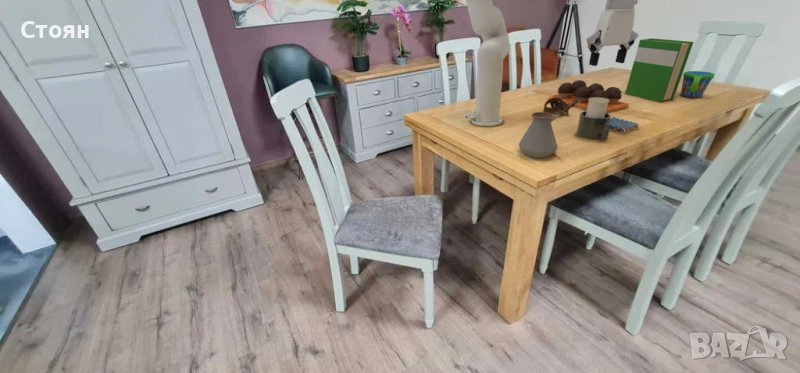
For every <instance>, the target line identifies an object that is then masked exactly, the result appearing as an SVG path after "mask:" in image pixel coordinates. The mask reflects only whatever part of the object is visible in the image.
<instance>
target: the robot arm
mask: <svg viewBox="0 0 800 373" xmlns="http://www.w3.org/2000/svg"><path fill="white" fill-rule="evenodd" d="M465 2H466V7H467V11H468V15H469V19H470V23H471V27H472V30H473V32H474V33H475V34H476V35H477V36H480V37H481V39H482V42H481V44H480V45H479V47H478V50H477V53H476V72H477V73H476V92H475V109H472V111H471V112H470V113H469V112H466V113H463V115H462V116H463V119H468V120H470V123H472V124H473V125H476V126H478V127H496V126H500V125H501V124H502V123H503V118H502V117H501V116H500V110H501V100H502V88H503V78H504V59H506V58H507V56H508V54H509V53H510V49H511V45H510V44H511V43H510V40H509V39H510V38H509V35H508V34H509V33H508V31H507V26H506V22H505V18H504V15H503V13H502V11H501V10H500V8H499V7H497V6H496V5H494V3H493V0H465ZM638 2H639V1H638V0H606V4H605V8H604V10H602V11H601V13H600V16H599V17H598V21H597V24H596V26H595V31H594V33H593V34H592V35H591V36H589V37H586V44H587V49H589V52H590V57H589V62H588V65H589V66H593V67H597V66H598V65H599V64H598V63H599V59H600V55H601V53H600V51H601V50H602V49H603V48H604V47H611V46H612V47H613V46H618V47H619V48H618V50H617V53H616V57H615V63H618V64H624V63H625V62H626V57H627V54H628V51H629V50H630V49H631V47H632V46H633V45H634V44H635V41H636V40H637V38H638V37H639V34H638V33H637V32H636V31H634V22H635V16H636V15H635V14H636V9H635V5H638Z"/></svg>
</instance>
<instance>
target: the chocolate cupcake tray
mask: <svg viewBox="0 0 800 373" xmlns="http://www.w3.org/2000/svg"><path fill="white" fill-rule="evenodd" d="M622 92H623V91H622V90H621V89H620V88H619V87H616V86H610V87H608V88H606V89H605V88H604V86H603V85H602V84H600V83H598V82H596V83H592V84H590V85H589V86H588V85H587V83H586V81H584V80H581V79H579V80H575V81H573V82H564V83H561V85H560V86H558V88H557V94H553V95H549V96H548V100H549V99H551V98H553V97H560V98H562V99H563V100H564V101H565V102H566V103H567V106H569V105H571V103H574V102H575V101H576V100H579V101H580V102H581V103H580V102H579V101H578V103H576V104H577V105H576V104H575V106H573V108H578V109H582V110H584V111H587V107H588V103H589V101H588V100H589V98H593V97H600V98H606V99H609V103H608V106H607V110H606V113H611V112H614V111H619V110H622V109H625V108H629V106H630V103H628V102H623V101H620V100H621V99H622V96H623V95H622ZM558 102H559V103H560V101H558ZM578 105H580V106H578Z"/></svg>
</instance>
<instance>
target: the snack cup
mask: <svg viewBox="0 0 800 373" xmlns="http://www.w3.org/2000/svg"><path fill="white" fill-rule="evenodd" d="M715 75H716V74H715V73H714V72H711V71H710V72H709V71H702V70H687V71H683V74H682V76H683V79H682V82H681V89H680V95H681V97H684V98H685V97H686V98H691V99H696V98H701V97H703V95H704V93H705V91H706V90H707V88H708V86H709V85H710V83H711V81H712V79H714V78H715Z"/></svg>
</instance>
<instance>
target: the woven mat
mask: <svg viewBox="0 0 800 373" xmlns="http://www.w3.org/2000/svg"><path fill="white" fill-rule="evenodd" d="M609 124H610V125H611V127H610V131H613V132H617V133H621V134H624V133H627V132H629V131H631V130H636V129H637V128H639V127H640V126H639V123H637V122H633V121H629V120H624V119H623V118H622V119H620V118H619V117H618V118H617V117H615V116H613V117H610V121H609Z"/></svg>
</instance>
